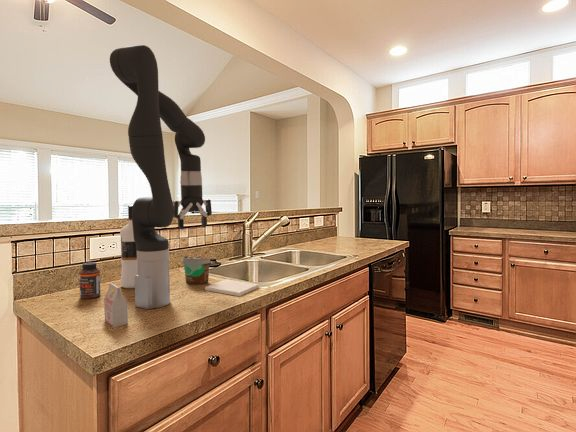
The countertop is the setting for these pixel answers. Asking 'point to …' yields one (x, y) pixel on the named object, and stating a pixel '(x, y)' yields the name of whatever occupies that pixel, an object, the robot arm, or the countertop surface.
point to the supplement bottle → (89, 281)
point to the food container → (196, 270)
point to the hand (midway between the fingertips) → (193, 228)
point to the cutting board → (232, 287)
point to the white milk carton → (115, 307)
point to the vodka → (128, 254)
